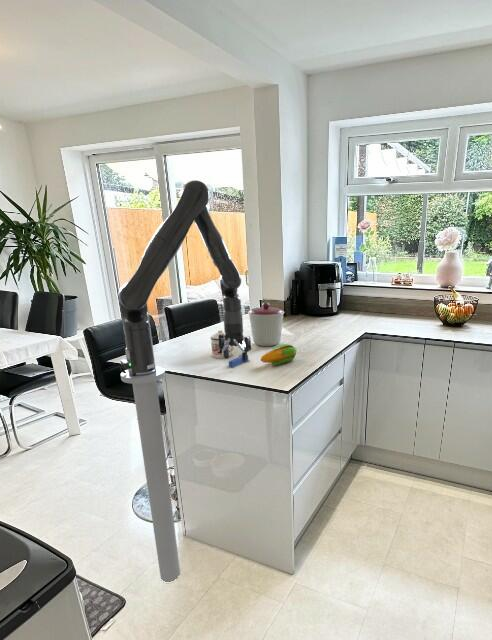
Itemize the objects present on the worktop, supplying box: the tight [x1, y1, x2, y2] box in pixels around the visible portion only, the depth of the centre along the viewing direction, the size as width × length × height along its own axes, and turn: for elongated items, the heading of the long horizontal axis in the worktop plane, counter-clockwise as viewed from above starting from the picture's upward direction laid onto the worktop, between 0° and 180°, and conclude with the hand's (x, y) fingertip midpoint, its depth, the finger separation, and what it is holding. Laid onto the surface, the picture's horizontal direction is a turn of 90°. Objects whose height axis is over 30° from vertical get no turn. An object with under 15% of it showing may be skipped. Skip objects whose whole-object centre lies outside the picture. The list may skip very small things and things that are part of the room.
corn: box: [260, 343, 298, 366], centre depth 169 cm, size 7×8×20 cm
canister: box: [247, 301, 285, 347], centre depth 199 cm, size 18×18×21 cm
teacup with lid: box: [210, 329, 235, 359], centre depth 178 cm, size 12×9×12 cm
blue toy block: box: [228, 354, 249, 369], centre depth 169 cm, size 12×4×2 cm, turn 157°
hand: (235, 359), depth 167 cm, fingers open, 8 cm apart
